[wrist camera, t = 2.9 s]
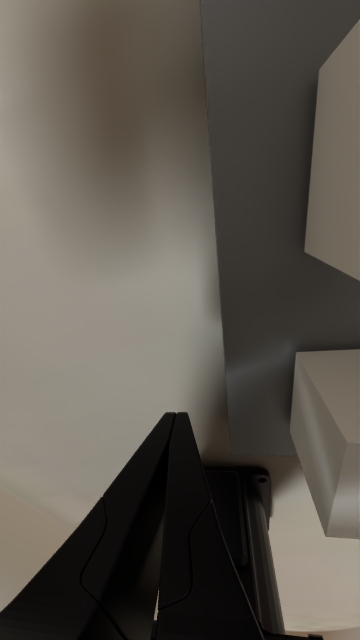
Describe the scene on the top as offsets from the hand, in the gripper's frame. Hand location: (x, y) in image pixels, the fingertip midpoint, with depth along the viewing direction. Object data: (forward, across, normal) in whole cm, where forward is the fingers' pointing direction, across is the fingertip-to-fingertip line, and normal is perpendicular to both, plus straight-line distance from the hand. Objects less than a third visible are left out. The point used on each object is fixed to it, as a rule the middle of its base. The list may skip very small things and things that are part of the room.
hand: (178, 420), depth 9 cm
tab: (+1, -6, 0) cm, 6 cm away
